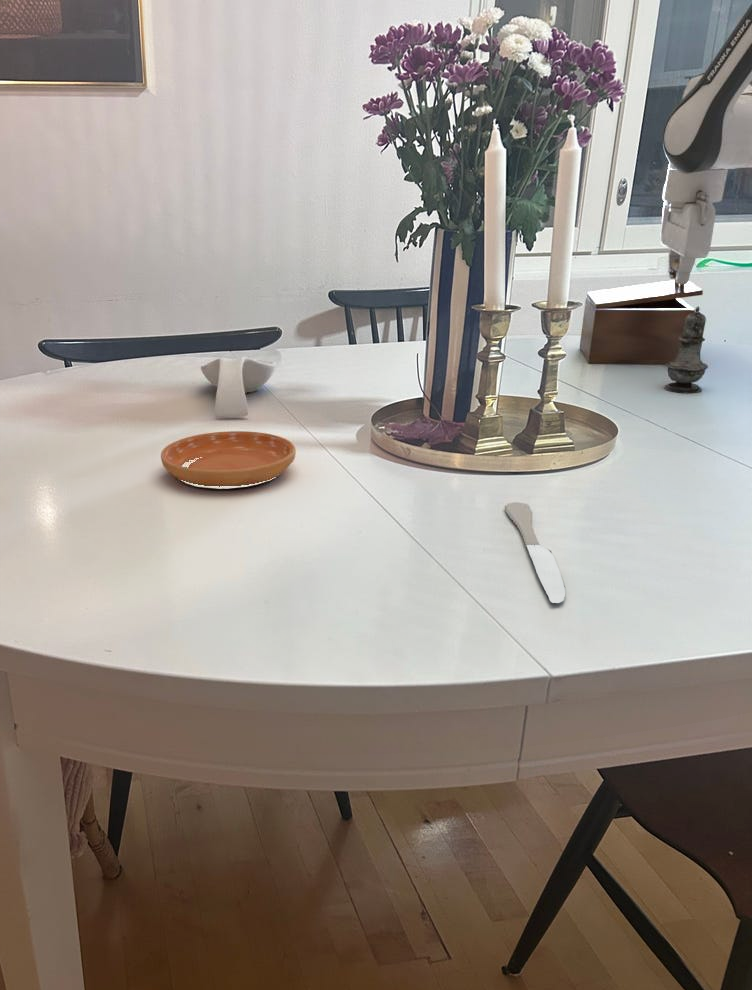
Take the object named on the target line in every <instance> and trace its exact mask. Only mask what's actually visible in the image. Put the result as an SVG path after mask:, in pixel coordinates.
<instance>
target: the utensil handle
mask: <svg viewBox="0 0 752 990" xmlns="http://www.w3.org/2000/svg"><path fill="white" fill-rule="evenodd" d="M504 510H505V513H506V514H507V515H508V517H509V518H510V519H511V520H513V521H512V522H513V523H514V525H515V526H516V525H517V526H516V527H517V528H518V530H519V532H520V534H521V536H523V537H522V539H524V540H523V542H525V543H524V545H525V544H526V545H534V546H535V545H540V542H539V540H538V538H537V536H536V534H535V532H534V528H533V511H532V509H531V507H530V505H529V504H528V503H524V502H509V503H507V504H506V505H505V506H504ZM526 545H525V546H526ZM540 546H541V545H540Z"/></svg>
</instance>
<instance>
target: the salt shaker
mask: <svg viewBox="0 0 752 990" xmlns="http://www.w3.org/2000/svg"><path fill="white" fill-rule="evenodd" d="M694 309H695V312H693V313H691V314H689V315H688V316H687V317H686V319H685V324H684V330H683V335H682V337H680V338H679V339H680V340H681V343H680V349H679V353H678V355H677V357H676V359H675V360H673V361H671V362H668V363H667V364H666V367H667V369H666V370H667V375H668V377H669V379H670V380H671V381H672V382H669V383H668V384H665V385H664V386H663V389H665V390H666V391H669V392H672V393H679V394H696V393H700V392H702V390H703V389H702V387H701V386H699V385H698V384H695V383H697V382H699V381H700V380H701V379H702V378H703V376H704V375H705V373H706V370H707V369H708V368H709V365H708V364H707V363H705V362H703V361H702V358H701V351H702V345H703V342H705V341H706V338H704V332H705V327H706V323H707V317H706V316H705V315H704V314H703V313H701V312H700V310H701V308H700V307H699V306H698V305H697V306H696V307H695V308H694Z"/></svg>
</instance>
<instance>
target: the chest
mask: <svg viewBox="0 0 752 990" xmlns="http://www.w3.org/2000/svg"><path fill="white" fill-rule="evenodd" d="M695 309H696V308H694V307H692V306H691V305H689V304H688V303H687V302H685V301H684V300H683V299H682V298H676V299H668V300H661V301H653V302H646V303H638V304H630V305H623V306H615V307H608V308H600V309H596V308H595V307H594V306H593V304H592V303H591V302H590V301H589V299H588V298H587V297H586V296H585V303H584V310H583V317H582V325H581V332H580V333H581V334H580V339H579V340H580V341H579V347H578V348H579V350H580V352H581V353H582V355H583V357H584V359H585V361H586V362H587V364H589V365H591V364H592V365H660V366H661V365H666V364H667V363H668V362H671V361H673V360H675V359H676V357H677V355H678V353H679V349H680V343H681V340H680V339H679V338H680V337H682V335H683V330H684V324H685V319H686V317H687V316H688V315H689V314H691V313H693V312H695V311H696V310H695ZM666 366H667V365H666Z"/></svg>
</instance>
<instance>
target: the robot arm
mask: <svg viewBox="0 0 752 990" xmlns="http://www.w3.org/2000/svg"><path fill="white" fill-rule="evenodd" d="M751 81H752V3H751V4H750V5H749V7H748V8H747V10H746V11H745V12H744V14H743V16H742V17H741V18H740V19H739V21H738V23H737V24H736V26H735V27H734V29H733V30H732V32H731V33H730V34H729V36H728V38H727V39H726V40H725V42H724V44H722V46H721V47H720V49H719V51H718V52H717V53H716V55H715V56H714V58H713V60H712V61H711V63H710V64H709V65H708V67H707V69H706V70H705V71H704V72H702V73H699V74H697V75H695V76H694V77H693V78H690V80H688V82H687V84H686V87H685V89H684V92H683V94H682V97H681V98H682V99H681V100H680V102H678V104H677V105H676V106H675V108H674V109H673V110H672V111H671V113H670V115H669V117H668V119H667V120H666V124H665V125H664V129H663V134H662V147H663V150H664V154H665V157H666V158H667V160H668V162H669V164H668V167H667V168H668V169H667V173H666V179H665V182H664V184H663V186H662V191H661V198H662V200H663V201H664V202H663V207H662V215H661V225H660V226H661V227H660V244H661V245H662V246H664V247H666V248H667V249H669V251H668V268H667V274H666V276H667V278H669V279H671V280H674V278H675V270H673V269H672V267H671V264H672V262H673V261H674V260H675V259H680V265H679V269H678V272H677V273H676V279H675V282H676V283H677V284H687V283H688V282H690V276H691V273H692V270H693V268H694V265H695V263H696V259H706V258H707V257H708V255H709V253H710V251H711V250H710V249H711V245H712V239H713V234H714V226H715V220H716V208H715V205H713V204H714V203H720V202H722V201H723V197H724V192H725V186H726V182H727V175H728V172H729V170H734V169H743V168H745V169H746V168H752V84H751Z"/></svg>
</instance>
